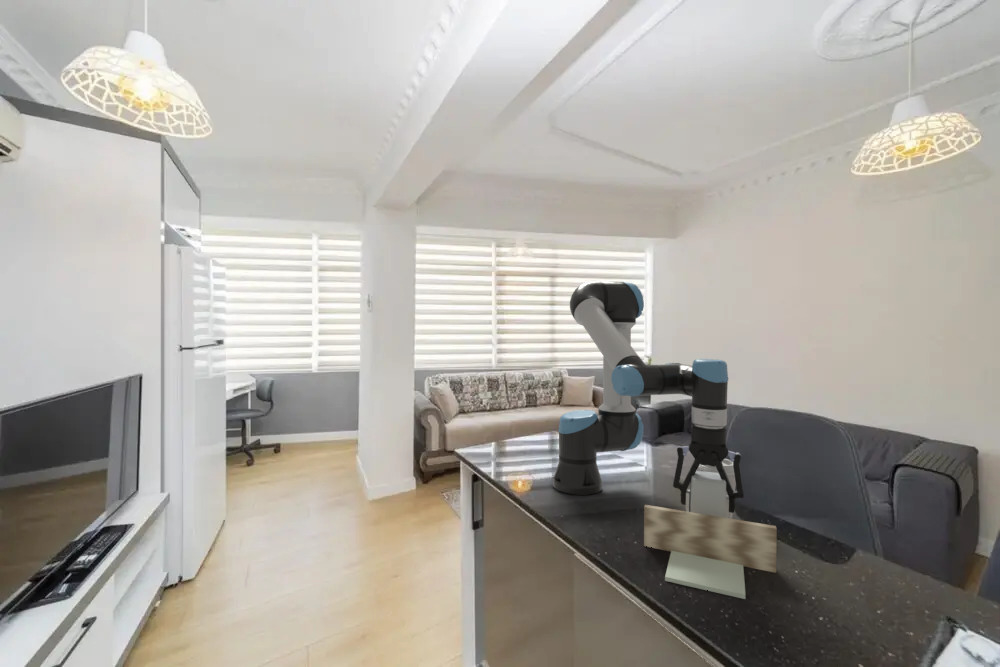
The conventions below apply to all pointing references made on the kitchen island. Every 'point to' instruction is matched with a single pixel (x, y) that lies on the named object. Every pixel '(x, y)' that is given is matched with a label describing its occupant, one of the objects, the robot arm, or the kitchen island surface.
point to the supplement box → (708, 494)
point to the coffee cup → (729, 471)
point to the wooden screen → (711, 537)
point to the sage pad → (706, 574)
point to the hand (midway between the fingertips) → (706, 521)
